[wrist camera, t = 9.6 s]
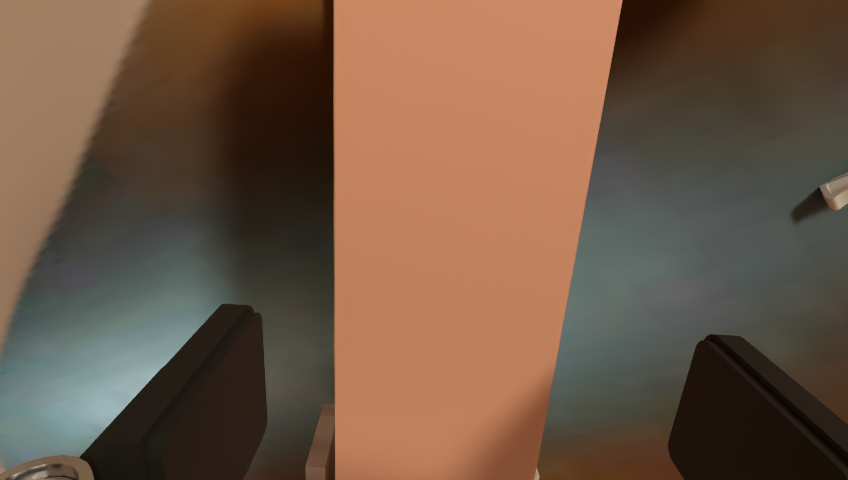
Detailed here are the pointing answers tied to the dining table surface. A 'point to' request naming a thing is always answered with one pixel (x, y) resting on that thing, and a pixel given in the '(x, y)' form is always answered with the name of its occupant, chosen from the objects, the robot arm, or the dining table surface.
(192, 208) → the dining table surface
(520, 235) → the rail
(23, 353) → the dining table surface
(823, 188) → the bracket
